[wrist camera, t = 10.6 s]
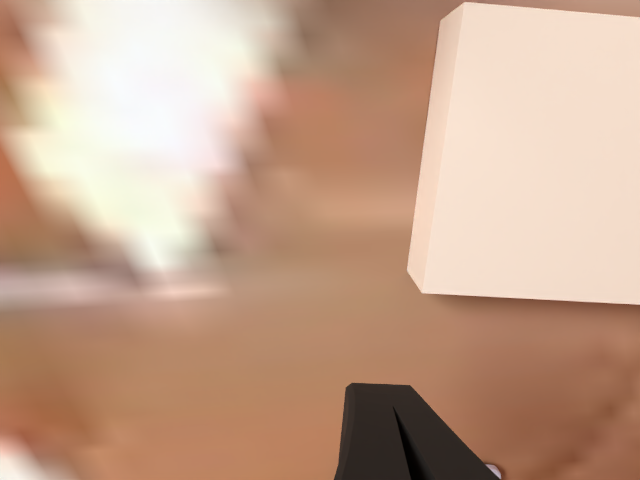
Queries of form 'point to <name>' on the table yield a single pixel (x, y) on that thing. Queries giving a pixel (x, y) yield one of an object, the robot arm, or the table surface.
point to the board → (531, 157)
